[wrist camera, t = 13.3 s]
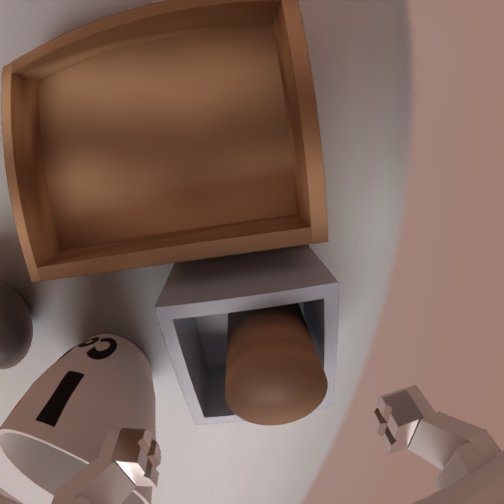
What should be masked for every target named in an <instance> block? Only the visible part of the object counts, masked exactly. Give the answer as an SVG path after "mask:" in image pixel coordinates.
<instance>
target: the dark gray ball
mask: <svg viewBox="0 0 504 504" xmlns="http://www.w3.org/2000/svg"><path fill="white" fill-rule="evenodd" d="M32 336H33V325H32V319H31V315H30V312H29V309H28V307H27V305H26V303H25V302H24V300H23V299H22V298H21V296H20V295H19V294H18V293H17V292H16V291H15V290H14V289H12V288H11V287H9V286H7V285H5V284H2V283H0V369H7V368H10V367H13V366H15V365H17V364H18V363H19V362H20V361H21V360H22V359H23V358H24V357H25V356H26V354H27V353H28V350H29V348H30V346H31V342H32Z"/></svg>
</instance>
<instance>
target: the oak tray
mask: <svg viewBox="0 0 504 504" xmlns="http://www.w3.org/2000/svg"><path fill="white" fill-rule="evenodd" d="M1 112H2V136H3V149H4V159H5V168H6V176H7V182H8V189H9V195H10V200H11V206H12V211H13V215H14V220H15V224H16V229H17V233H18V237H19V241H20V245H21V248H22V252H23V256H24V259H25V262H26V266H27V269H28V272H29V275H30V278H31V281H32V282H39V281H46V280H53V279H60V278H67V277H75V276H82V275H89V274H96V273H104V272H111V271H118V270H125V269H133V268H140V267H147V266H154V265H162V264H169V263H176V262H183V261H191V260H198V259H205V258H212V257H220V256H227V255H234V254H241V253H248V252H256V251H263V250H270V249H277V248H285V247H292V246H299V245H306V244H314V243H321V242H328V224H327V208H326V194H325V181H324V169H323V159H322V149H321V140H320V131H319V123H318V115H317V107H316V100H315V93H314V86H313V79H312V73H311V67H310V61H309V55H308V49H307V44H306V39H305V33H304V28H303V23H302V18H301V14H300V9H299V4H298V0H168V1H163V2H159V3H154V4H150V5H146V6H143V7H139V8H135V9H132V10H128V11H125V12H122V13H119V14H116V15H113V16H110V17H107V18H104V19H101V20H98V21H95V22H93V23H90V24H88V25H85V26H83V27H80V28H78V29H75V30H73V31H71V32H68V33H66V34H64V35H62V36H60V37H57V38H55V39H53V40H51V41H49V42H47V43H45V44H43V45H41V46H39V47H37V48H35V49H34V50H32V51H30V52H28V53H26V54H24V55H23V56H21V57H19V58H18V59H16V60H14V61H12V62H11V63H9V64H8V65H6V66H4V67H3V70H2V93H1Z"/></svg>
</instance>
